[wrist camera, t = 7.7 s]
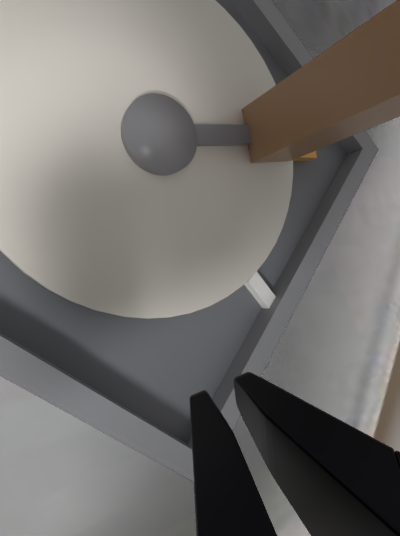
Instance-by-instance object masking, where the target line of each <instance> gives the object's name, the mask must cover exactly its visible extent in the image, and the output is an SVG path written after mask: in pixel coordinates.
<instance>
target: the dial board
mask: <svg viewBox="0 0 400 536" xmlns="http://www.w3.org/2000/svg"><path fill="white" fill-rule="evenodd" d="M216 1H217V2H218V3H219V4H220V5H221V6H222V7H223V8H224V9H225V10H226V11H227V12H228V13H229V14H230V15H231V16H232V17H233V19H234V20H235V21H236V22H237V23H238V24H239V25H240V26H241V28H242V29H243V30H244V32H245V33H246V34H247V36H248V37H249V38H250V40H251V41H252V42H253V44H254V45H255V47H256V49H257V50H258V52H259V53H260V55H261V57H262V58H263V60H264V62H265V64H266V66H267V68H268V69H269V71H270V73H271V75H272V77H273V79H274V82H275V84H276V85H277V84H278V83H280V82H281V81H283V80H284V79H285V78H287V77H288V76H290V75H291V74H293V73H294V72H295V71H297V70H298V69H300V68H301V67H303V66H304V65H305V64H307V63H308V62H310V61H311V60H313V57H312V56H311V55H310V53H309V52H308V50H307V49H306V48H305V46H304V45H303V43H302V42H301V41H300V39H299V38H298V36H297V35H296V34H295V32H294V31H293V30H292V28H291V27H290V25H289V24H288V23H287V21H286V20H285V18H284V17H283V16H282V14H281V13H280V11H279V10H278V9H277V7H276V6H275V4H274V3H273V2H272V0H216ZM377 151H378V148H377V147H376V145H375V144H374V142H373V141H372V140H371V138H370V137H369V135H368V134H367V133H366V131H362V132H360V133H357V134H355V135H353V136H350V137H348V138H345V139H343V140H340V141H338V142H335V143H333V144H331V145H328V146H326V147H323V148H321V149H318V150H316V151H314V152H311V153H309V154H306V155H304V156H301V157H299V158H297V159H294V160H293V182H292V193H291V198H290V203H289V208H288V212H287V215H286V219H285V222H284V225H283V228H282V230H281V233H280V235H279V237H278V239H277V242H276V244H275V246H274V247H273V249H272V251H271V252H270V254H269V256H268V257H267V259H266V260H265V261H264V263H263V264H262V265H261V267H260V268H259V269H258V270H257V272H256V273H255V274H254V275H253V276H252V277H251V278H250V279H249V280H248V281H247V282H246V283H245V284H244V285H243V286H241V287H240V288H239V289H237V290H236V291H235V292H233V293H232V294H230V295H229V296H228V297H226V298H224V299H222V300H221V301H219V302H217V303H215V304H213V305H211V306H209V307H206V308H204V309H201V310H198V311H195V312H192V313H189V314H184V315H179V316H174V317H168V318H151V319H145V318H133V317H123V316H118V315H114V314H109V313H105V312H100V311H96V310H93V309H90V308H87V307H85V306H82V305H79V304H76V303H74V302H71V301H68V300H67V299H65V298H63V297H61V296H59V295H57V294H55V293H53V292H51V291H49V290H48V289H46V288H44V287H43V286H41V285H40V284H39V283H37V282H36V281H34V280H33V279H31V278H30V277H29V276H27V275H26V274H24V273H23V272H22V271H21V270H20V269H19V268H18V267H16V266H15V265H14V264H13V263H12V262H11V261H10V260H9V259H8V258H7V257H6V256H4V255H3V254H2V253H1V251H0V376H2V377H3V378H5V379H7V380H9V381H11V382H12V383H14V384H16V385H18V386H20V387H22V388H23V389H25V390H27V391H29V392H31V393H32V394H34V395H36V396H38V397H40V398H42V399H43V400H45V401H47V402H49V403H51V404H52V405H54V406H56V407H58V408H60V409H62V410H63V411H65V412H67V413H69V414H71V415H73V416H74V417H76V418H78V419H80V420H82V421H83V422H85V423H87V424H89V425H91V426H93V427H94V428H96V429H98V430H100V431H102V432H103V433H105V434H107V435H109V436H111V437H113V438H114V439H116V440H118V441H120V442H122V443H123V444H125V445H127V446H129V447H131V448H133V449H134V450H136V451H138V452H140V453H142V454H143V455H145V456H147V457H149V458H151V459H153V460H154V461H156V462H158V463H160V464H162V465H163V466H165V467H167V468H169V469H171V470H173V471H174V472H176V473H178V474H180V475H182V476H183V477H185V478H187V479H189V480H191V481H193V482H194V475H193V456H192V437H191V418H190V396H191V395H193V394H195V393H197V392H200V391H202V390H206V391H207V392H208V393H209V395H210V396H211V398H212V399H213V401H214V403H215V404H216V406H217V407H218V409H219V410H220V412H221V413H222V415H223V417H224V418H225V420H226V421H227V423H228V424H229V426H230V428H231V429H232V430H233V428H234V426H235V424H236V423H237V421H238V419H239V417H240V415H241V414H240V412H239V409H238V407H237V404H236V398H235V391H234V384H233V380H234V378H235V377H236V376H238V375H241V374H243V373H246V372H251V373H253V374H255V375H257V376H259V377H260V376H261V374H262V372H263V371H264V369H265V367H266V365H267V363H268V361H269V359H270V357H271V355H272V353H273V351H274V349H275V347H276V346H277V344H278V342H279V340H280V338H281V336H282V334H283V332H284V330H285V328H286V326H287V324H288V322H289V320H290V319H291V317H292V315H293V313H294V311H295V309H296V307H297V305H298V303H299V301H300V299H301V297H302V295H303V294H304V292H305V290H306V288H307V286H308V284H309V282H310V280H311V278H312V276H313V274H314V272H315V270H316V268H317V267H318V265H319V263H320V261H321V259H322V257H323V255H324V253H325V251H326V249H327V247H328V245H329V243H330V241H331V240H332V238H333V236H334V234H335V232H336V230H337V228H338V226H339V224H340V222H341V220H342V218H343V216H344V215H345V213H346V211H347V209H348V207H349V205H350V203H351V201H352V199H353V197H354V195H355V193H356V191H357V189H358V188H359V186H360V184H361V182H362V180H363V178H364V176H365V174H366V172H367V170H368V168H369V166H370V164H371V163H372V161H373V159H374V157H375V155H376V153H377Z"/></svg>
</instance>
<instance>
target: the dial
mask: <svg viewBox="0 0 400 536" xmlns="http://www.w3.org/2000/svg"><path fill="white" fill-rule="evenodd" d="M399 116H400V0H397V1H395V2H394V3H392V4H391V5H390V6H388V7H387V8H385V9H384V10H382V11H381V12H380V13H378V14H377V15H375V16H374V17H372V18H371V19H370V20H368V21H367V22H365V23H364V24H362V25H361V26H360V27H358V28H357V29H355V30H354V31H352V32H351V33H350V34H348V35H347V36H345V37H344V38H342V39H341V40H340V41H338V42H337V43H335V44H334V45H332V46H331V47H330V48H328V49H327V50H325V51H324V52H322V53H321V54H320V55H318V56H317V57H315V58H314V59H313V60H311V61H310V62H308V63H307V64H305V65H304V66H303V67H301V68H300V69H298V70H297V71H295V72H294V73H293V74H291V75H290V76H288V77H287V78H285V79H284V80H283V81H281V82H280V83H278V84H277V85H276V84H275V82H274V79H273V77H272V75H271V73H270V71H269V69H268V68H267V66H266V64H265V62H264V60H263V58H262V57H261V55H260V53H259V52H258V50H257V49H256V47H255V45H254V44H253V42H252V41H251V40H250V38H249V37H248V36H247V34H246V33H245V32H244V30H243V29H242V28H241V26H240V25H239V24H238V23H237V22H236V21H235V20H234V19H233V17H232V16H231V15H230V14H229V13H228V12H227V11H226V10H225V9H224V8H223V7H222V6H221V5H220V4H219V3H218V2H217V1H216V0H0V251H1V253H2V254H3V255H4V256H6V257H7V258H8V259H9V260H10V261H11V262H12V263H13V264H14V265H15V266H16V267H18V268H19V269H20V270H21V271H22V272H23V273H24V274H26V275H27V276H29V277H30V278H31V279H33V280H34V281H36V282H37V283H39V284H40V285H41V286H43V287H44V288H46V289H48V290H49V291H51V292H53V293H55V294H57V295H59V296H61V297H63V298H65V299H67V300H68V301H71V302H74V303H76V304H79V305H82V306H85V307H87V308H90V309H93V310H96V311H100V312H105V313H109V314H114V315H118V316H123V317H133V318H145V319H151V318H168V317H174V316H179V315H184V314H189V313H192V312H195V311H198V310H201V309H204V308H206V307H209V306H211V305H213V304H215V303H217V302H219V301H221V300H222V299H224V298H226V297H228V296H229V295H230V294H232V293H233V292H235V291H236V290H237V289H239V288H240V287H241V286H243V285H244V284H245V283H246V282H247V281H248V280H249V279H250V278H251V277H252V276H253V275H254V274H255V273H256V272H257V270H258V269H259V268H260V267H261V265H262V264H263V263H264V261H265V260H266V259H267V257H268V256H269V254H270V252H271V251H272V249H273V247H274V246H275V244H276V242H277V239H278V237H279V235H280V233H281V230H282V228H283V225H284V222H285V219H286V215H287V212H288V208H289V203H290V198H291V193H292V182H293V160H294V159H297V158H299V157H301V156H304V155H306V154H309V153H311V152H314V151H316V150H318V149H321V148H323V147H326V146H328V145H331V144H333V143H335V142H338V141H340V140H343V139H345V138H348V137H350V136H353V135H355V134H357V133H360V132H362V131H365V130H367V129H370V128H372V127H374V126H377V125H379V124H382V123H384V122H387V121H389V120H391V119H394V118H396V117H399Z"/></svg>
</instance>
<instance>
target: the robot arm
mask: <svg viewBox="0 0 400 536" xmlns="http://www.w3.org/2000/svg"><path fill="white" fill-rule="evenodd" d="M233 384H234V391H235V398H236V404H237V407H238V409H239V412H240V414H241V416H242V418H243V420H244V422H245V424H246V426H247V428H248V430H249V432H250V434H251V436H252V438H253V440H254V442H255V443H256V445H257V447H258V449H259V451H260V453H261V455H262V457H263V459H264V461H265V463H266V465H267V467H268V469H269V471H270V472H271V474H272V476H273V477H274V479H275V481H276V482H277V484H278V485H279V487H280V488H281V490H282V491H283V493H284V495H285V496H286V498H287V499H288V501H289V502H290V504H291V505H292V507H293V508H294V510H295V512H296V513H297V515H298V516H299V518H300V519H301V521H302V522H303V524H304V525H305V527H306V528H307V530H308V532H309V533H310V535H311V536H400V452H399V451H395V452H394V450H393V448H391V447H389V446H387V445H385V444H384V443H382V442H380V441H378V440H376V439H374V438H372V437H371V436H369V435H367V434H365V433H363V432H361V431H359V430H358V429H356V428H354V427H352V426H350V425H348V424H346V423H345V422H343V421H341V420H339V419H337V418H335V417H333V416H331V415H330V414H328V413H326V412H324V411H322V410H320V409H318V408H317V407H315V406H313V405H311V404H309V403H307V402H305V401H304V400H302V399H300V398H298V397H296V396H294V395H292V394H291V393H289V392H287V391H285V390H283V389H281V388H279V387H277V386H276V385H274V384H272V383H270V382H268V381H266V380H264V379H263V378H261V377H259V376H257V375H255V374H253V373H251V372H246V373H243V374H241V375H238V376H236V377H235V378H234V380H233ZM190 418H191V437H192V456H193V475H194V494H195V513H196V532H197V536H277V535H276V532H275V530H274V527H273V525H272V523H271V520H270V518H269V516H268V513H267V511H266V509H265V506H264V504H263V501H262V499H261V497H260V494H259V492H258V490H257V487H256V485H255V483H254V480H253V478H252V475H251V473H250V471H249V468H248V466H247V464H246V461H245V459H244V456H243V454H242V452H241V449H240V447H239V445H238V442H237V440H236V438H235V436H234V433H233V431H232V429H231V428H230V426H229V424H228V423H227V421H226V420H225V418H224V417H223V415H222V413H221V412H220V410H219V409H218V407H217V406H216V404H215V403H214V401H213V399H212V398H211V396H210V395H209V393H208V392H207V391H206V390H202V391H200V392H197V393H195V394H193V395H191V396H190Z"/></svg>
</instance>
